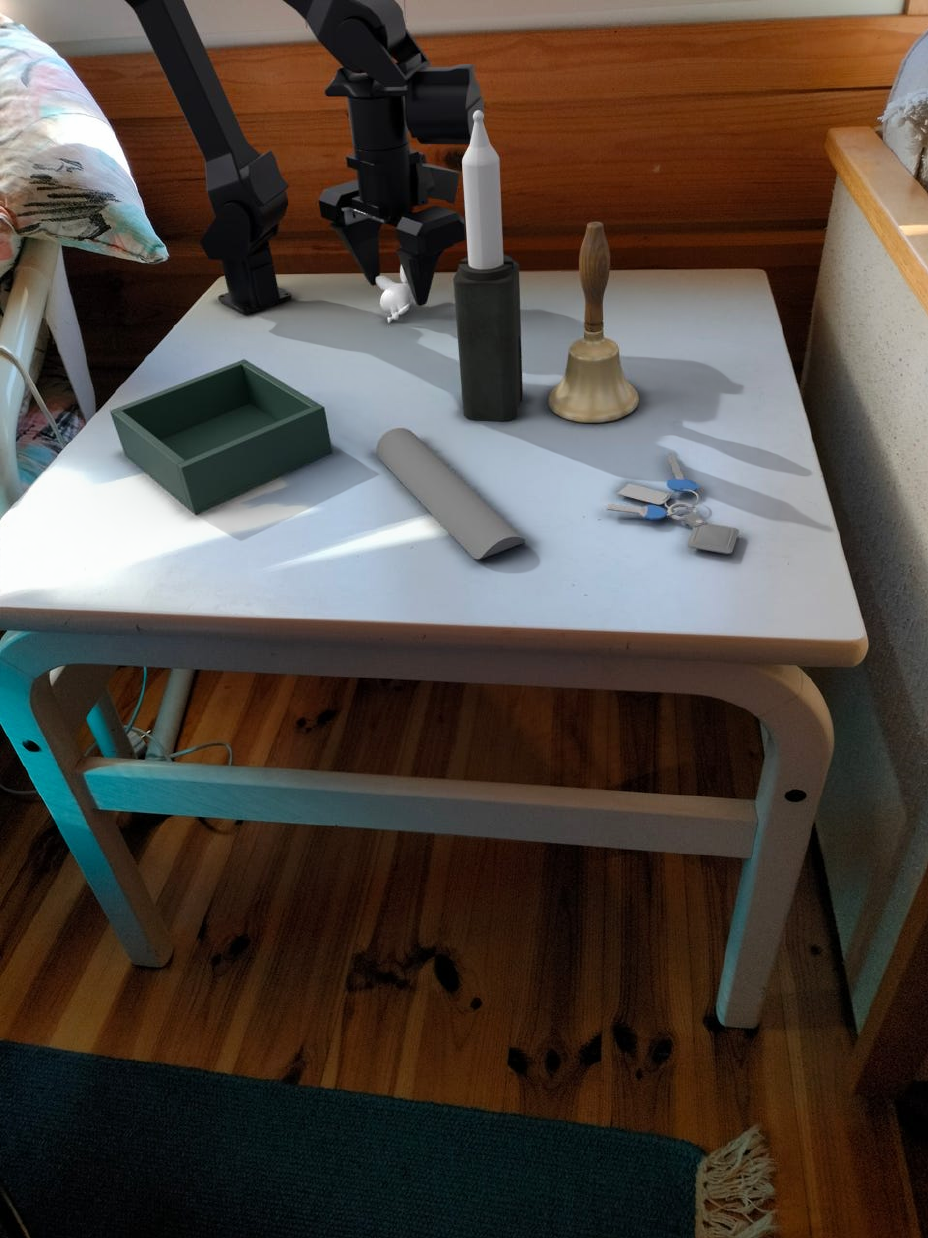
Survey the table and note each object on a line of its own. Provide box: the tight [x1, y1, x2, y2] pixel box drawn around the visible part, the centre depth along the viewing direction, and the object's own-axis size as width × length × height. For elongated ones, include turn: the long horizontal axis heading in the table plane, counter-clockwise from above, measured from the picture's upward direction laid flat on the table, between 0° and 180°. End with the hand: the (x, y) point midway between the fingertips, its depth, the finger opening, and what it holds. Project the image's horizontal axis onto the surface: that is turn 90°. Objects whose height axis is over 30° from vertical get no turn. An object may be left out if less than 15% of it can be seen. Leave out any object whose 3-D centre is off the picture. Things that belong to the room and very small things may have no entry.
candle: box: [452, 110, 524, 422], centre depth 81 cm, size 5×5×25 cm
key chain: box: [605, 452, 740, 555], centre depth 74 cm, size 14×8×1 cm, turn 15°
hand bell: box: [547, 221, 640, 424], centre depth 84 cm, size 8×8×16 cm
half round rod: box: [375, 427, 527, 560], centre depth 78 cm, size 4×20×2 cm, turn 28°
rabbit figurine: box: [376, 264, 413, 324], centre depth 107 cm, size 6×4×8 cm
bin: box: [109, 358, 333, 516], centre depth 84 cm, size 14×14×4 cm
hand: (398, 294), depth 107 cm, fingers open, 8 cm apart
